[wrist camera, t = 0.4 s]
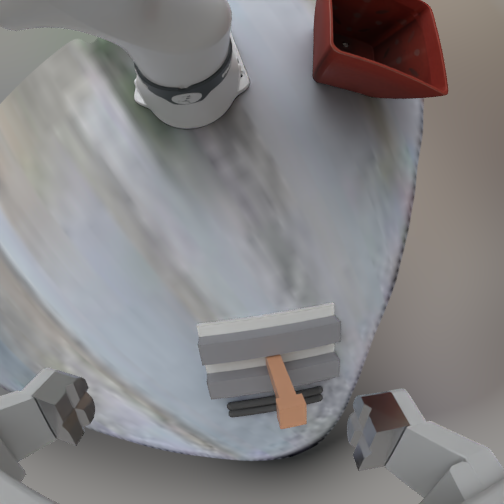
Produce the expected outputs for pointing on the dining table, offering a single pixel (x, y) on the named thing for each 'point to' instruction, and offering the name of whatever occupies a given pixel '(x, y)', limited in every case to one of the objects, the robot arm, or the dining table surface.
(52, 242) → the dining table surface
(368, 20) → the plant pot
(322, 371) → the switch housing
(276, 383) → the breaker handle
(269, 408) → the twin grey rods
